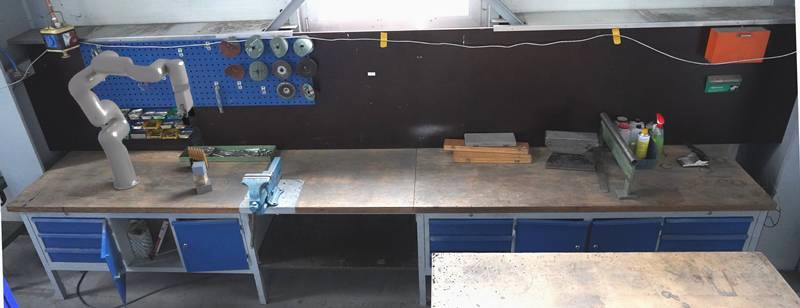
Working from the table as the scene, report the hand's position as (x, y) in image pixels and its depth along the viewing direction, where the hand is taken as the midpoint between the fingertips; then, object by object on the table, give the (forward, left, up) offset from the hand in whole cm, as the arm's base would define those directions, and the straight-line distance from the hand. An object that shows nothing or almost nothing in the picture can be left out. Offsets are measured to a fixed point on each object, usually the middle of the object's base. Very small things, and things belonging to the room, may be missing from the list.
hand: (189, 120), depth 260 cm
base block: (+1, -8, -34) cm, 35 cm away
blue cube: (+1, -8, -25) cm, 26 cm away
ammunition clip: (-6, +14, -34) cm, 37 cm away
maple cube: (+1, -8, -30) cm, 31 cm away
